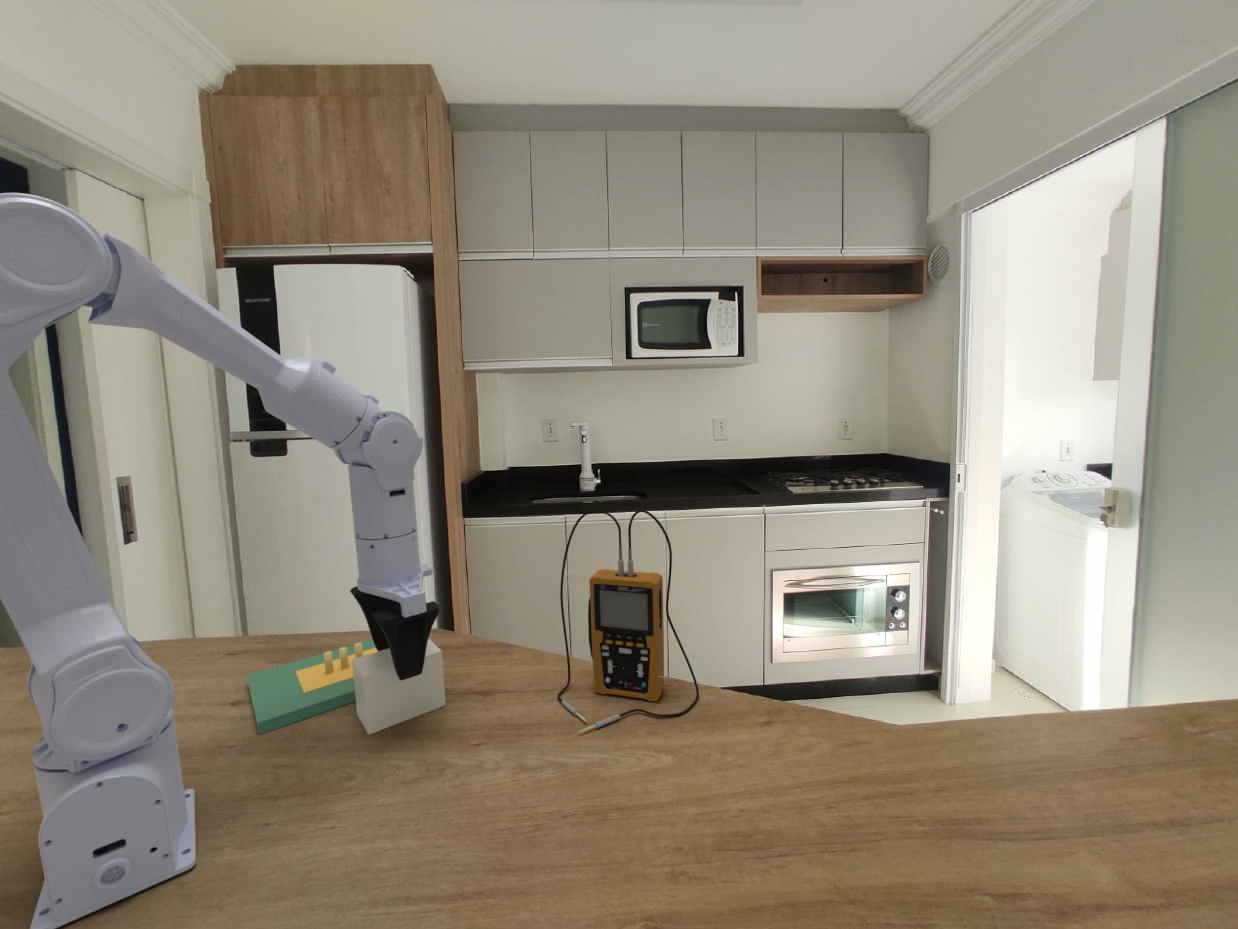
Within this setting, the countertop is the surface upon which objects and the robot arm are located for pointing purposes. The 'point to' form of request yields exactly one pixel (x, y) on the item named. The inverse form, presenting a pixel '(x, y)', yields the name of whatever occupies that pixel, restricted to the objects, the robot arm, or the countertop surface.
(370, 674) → the block
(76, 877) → the robot arm
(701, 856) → the countertop surface
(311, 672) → the header board
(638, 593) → the multimeter
